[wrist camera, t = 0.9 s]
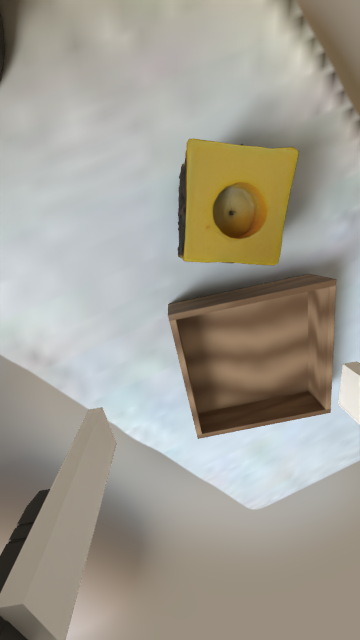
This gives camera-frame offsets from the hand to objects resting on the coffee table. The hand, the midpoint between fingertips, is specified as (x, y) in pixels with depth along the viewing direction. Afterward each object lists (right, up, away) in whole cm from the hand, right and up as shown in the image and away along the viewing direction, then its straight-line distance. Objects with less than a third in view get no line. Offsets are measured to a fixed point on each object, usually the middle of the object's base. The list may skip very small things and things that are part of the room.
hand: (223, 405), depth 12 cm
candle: (+2, +18, +17) cm, 25 cm away
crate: (+9, -1, +24) cm, 25 cm away
